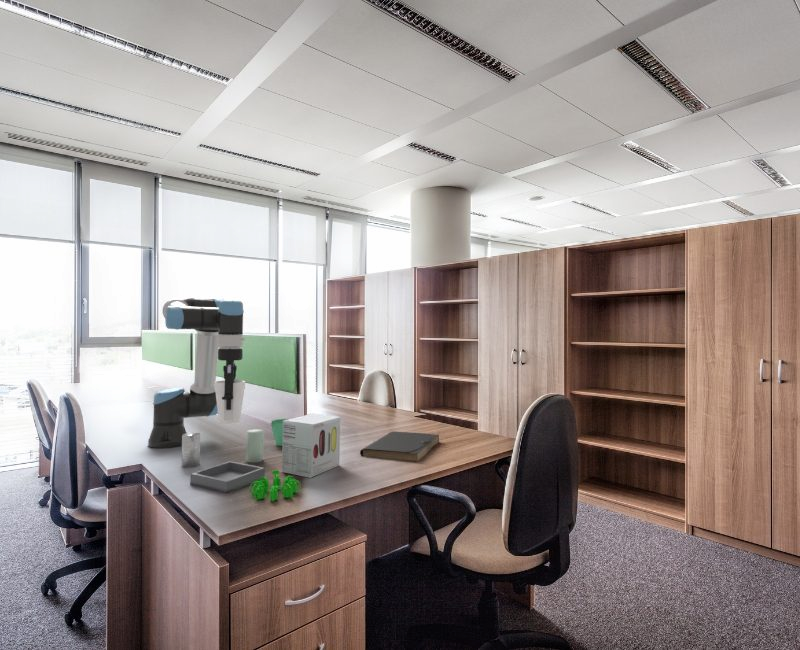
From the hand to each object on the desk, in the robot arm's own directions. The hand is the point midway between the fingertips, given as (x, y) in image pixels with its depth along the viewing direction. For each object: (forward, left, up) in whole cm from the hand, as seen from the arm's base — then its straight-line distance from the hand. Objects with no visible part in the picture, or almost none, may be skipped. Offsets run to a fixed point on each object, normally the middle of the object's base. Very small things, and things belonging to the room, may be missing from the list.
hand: (229, 416), depth 149 cm
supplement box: (+15, +24, -21) cm, 35 cm away
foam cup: (0, 0, -2) cm, 2 cm away
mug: (-15, +46, -21) cm, 53 cm away
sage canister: (-10, +22, -21) cm, 32 cm away
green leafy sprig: (+21, -1, -21) cm, 30 cm away
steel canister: (-26, +6, -21) cm, 34 cm away
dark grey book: (+30, +65, -22) cm, 75 cm away
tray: (0, 0, -21) cm, 21 cm away
